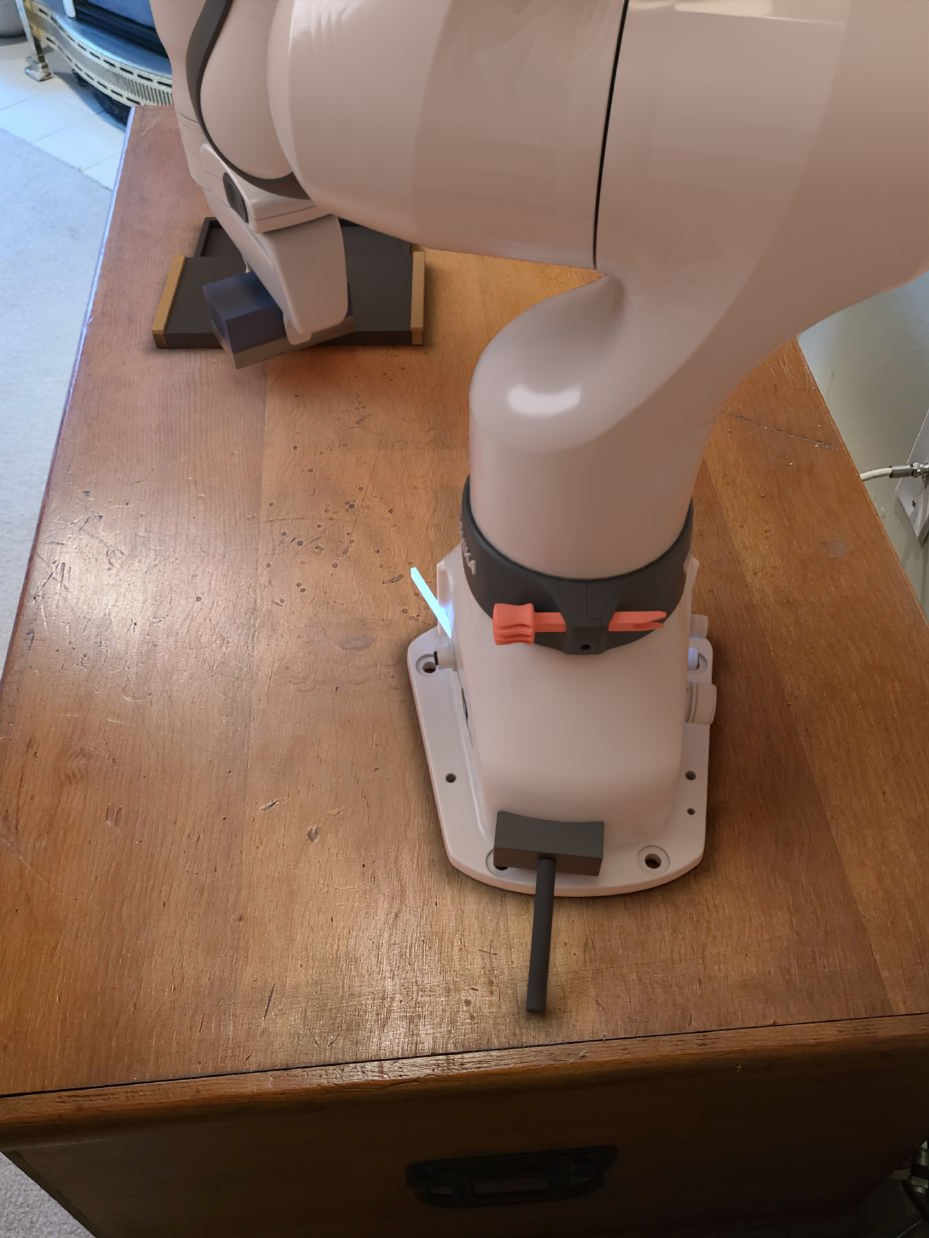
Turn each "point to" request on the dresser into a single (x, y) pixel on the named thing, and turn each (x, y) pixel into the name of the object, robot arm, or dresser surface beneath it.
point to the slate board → (381, 317)
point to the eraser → (257, 321)
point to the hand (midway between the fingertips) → (282, 316)
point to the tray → (353, 234)
